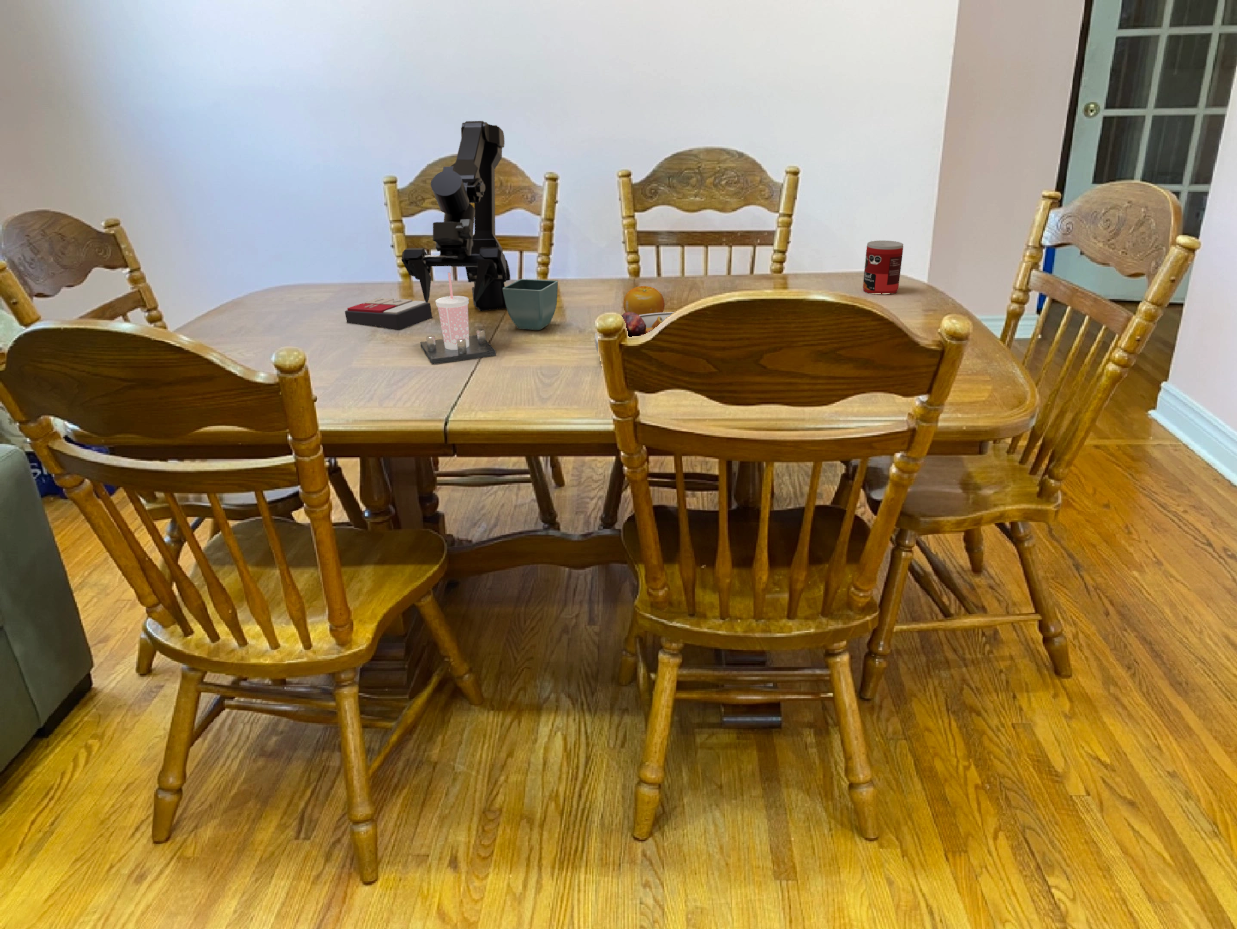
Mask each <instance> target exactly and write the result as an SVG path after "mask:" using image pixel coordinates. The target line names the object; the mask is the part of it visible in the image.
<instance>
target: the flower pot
mask: <svg viewBox="0 0 1237 929" xmlns="http://www.w3.org/2000/svg"><path fill="white" fill-rule="evenodd" d="M558 284H559V281H558V280H554V279H553V280H551V279H530V278H529V279H528V278H520V279H518V280H516V281H514V282H512V283H510V284H508V285H506V286H505V287H504V288H503V294H504V299H505V303H506V307H507V308H506V311H507V313H508V316H509V317H510V319H511V322H512V323H513V324H514V325H515V326H516V328H517V329H519V330H533V331H534V330H535V331H540V330H542V329H543V328H545V327H547V326H549V325H550V324H551V321H552V319H553V317H554V315H555V312H556V309H557V303H558V289H559V288H558Z"/></svg>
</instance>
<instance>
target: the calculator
mask: <svg viewBox="0 0 1237 929" xmlns="http://www.w3.org/2000/svg"><path fill="white" fill-rule="evenodd" d="M344 314H345V319H346V323H347V324H351V325H352V324H353V325H360V326H366V327H368V326H369V327H375V328H376V327H377V328H383V329H388V330H395V331H402V330H404V329H407V328H410V327H413V326H415V325H417V324H420V323H422V322H426V321H428V320H430V319H433V312H432V307H431V302H429V301H428V302H425V300H424V301H423V300H413V299H407V298H406V299H404V298H388V297H387V298H386V297H378V298H374V299H371V300H368V301H366V302H363V303H359V304H355V305H353V306H350V307H347V309H346V310H345V311H344Z"/></svg>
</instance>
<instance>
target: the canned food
mask: <svg viewBox="0 0 1237 929" xmlns="http://www.w3.org/2000/svg"><path fill="white" fill-rule="evenodd" d="M903 253H904V243H902V242H900V241H894V240H873V241H872V240H871V241H868V242H867V245H866V251H865V259H864V260H865V262H864V268H863V269H864V271H863V280H862V290H863V292H864V291H865V292H864V293H866V292H867V293H866V294H869V293H881V294H882V293H895V294H896V293H898V291H899V286H900V277H901V270H902V261H903Z"/></svg>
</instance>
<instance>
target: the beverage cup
mask: <svg viewBox="0 0 1237 929" xmlns="http://www.w3.org/2000/svg"><path fill="white" fill-rule="evenodd" d="M451 276H452V274H451V272H450V271H449V272H447V277H448V287H449V296H442V297H440V298H437V299H435V304H436V305H435V306H436V307H437V312H438V316H439V321H440V322H439V323H440V326H441V332H442V339H444V345H445V348H446V349H450V350H458V347H457V340H458V339H465V340H466V348H467V347H468V346H469V336H470V328H469V301H470V299H469V297H468V296H463V295H454V294H453V292H454V291H453V285H452V284H453V283H452V277H451Z"/></svg>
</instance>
